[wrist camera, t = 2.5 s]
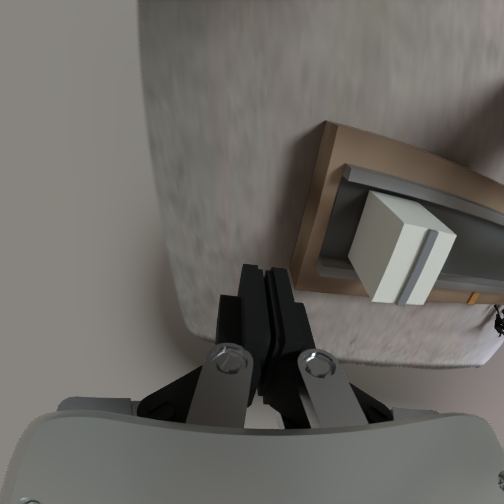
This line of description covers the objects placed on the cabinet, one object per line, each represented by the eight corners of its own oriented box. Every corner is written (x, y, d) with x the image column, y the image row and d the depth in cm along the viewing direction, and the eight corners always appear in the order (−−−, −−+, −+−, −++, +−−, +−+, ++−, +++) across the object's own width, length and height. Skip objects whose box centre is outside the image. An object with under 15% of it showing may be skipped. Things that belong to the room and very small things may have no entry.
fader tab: (369, 190, 18) (406, 225, 14) (417, 202, 19) (459, 237, 14) (347, 256, 21) (373, 304, 16) (393, 262, 21) (424, 307, 17)
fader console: (325, 120, 19) (344, 128, 15) (530, 199, 22) (555, 216, 18) (289, 267, 25) (297, 299, 21) (490, 289, 28) (509, 311, 24)
